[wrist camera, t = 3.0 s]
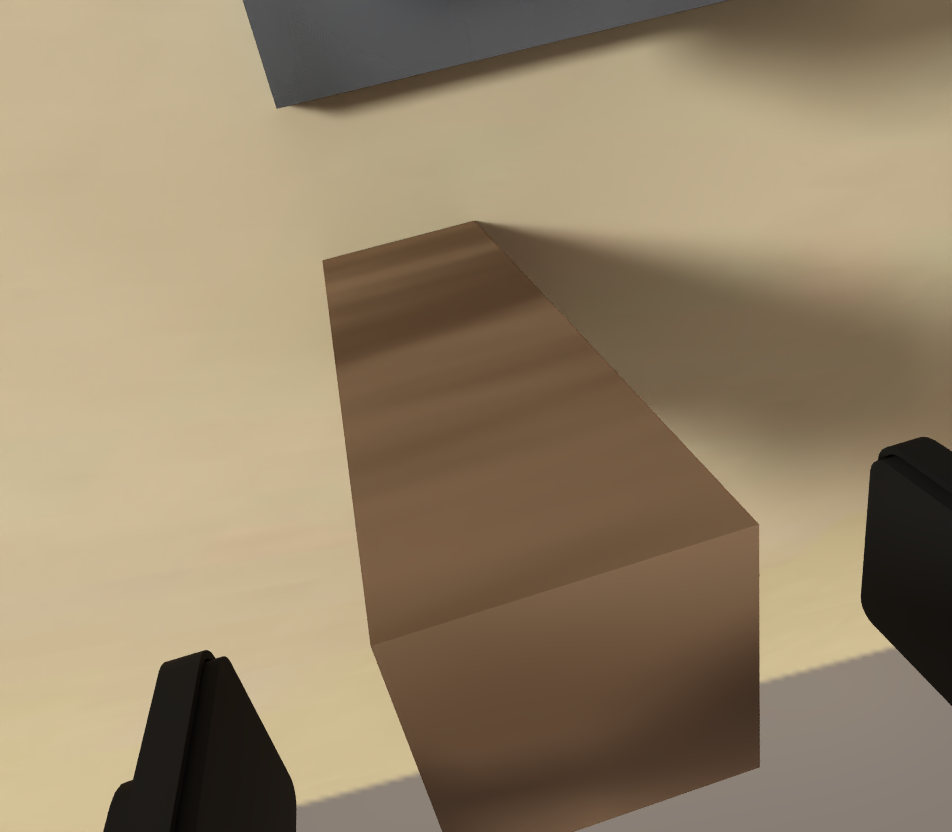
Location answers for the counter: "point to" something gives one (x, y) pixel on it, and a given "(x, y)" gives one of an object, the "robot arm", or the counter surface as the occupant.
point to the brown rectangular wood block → (534, 550)
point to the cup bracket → (416, 36)
